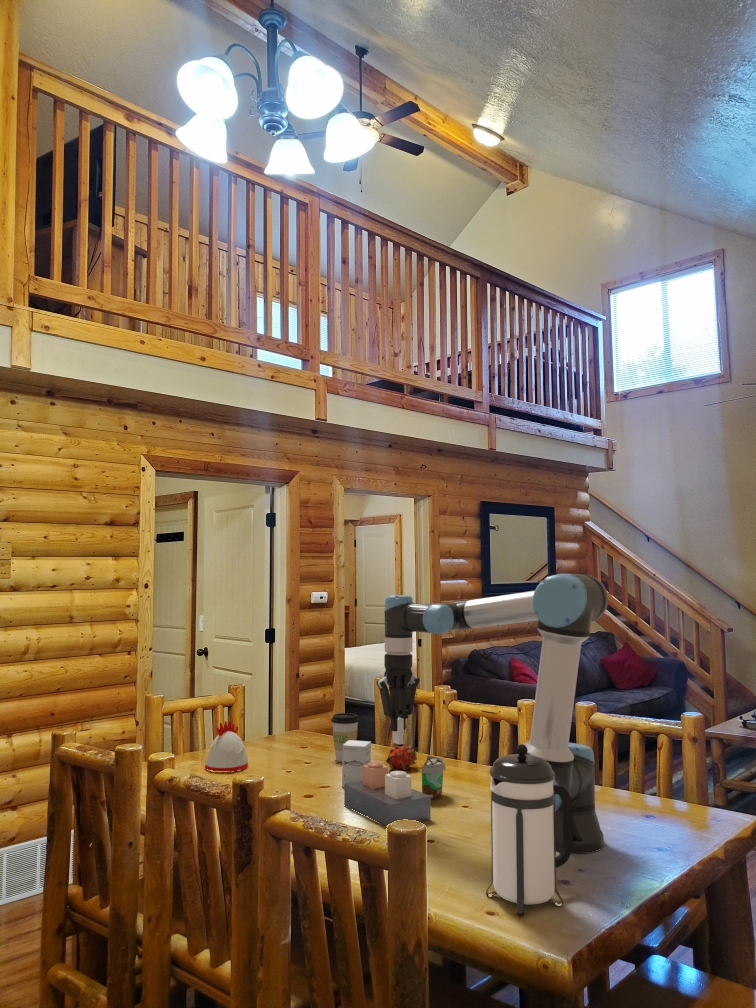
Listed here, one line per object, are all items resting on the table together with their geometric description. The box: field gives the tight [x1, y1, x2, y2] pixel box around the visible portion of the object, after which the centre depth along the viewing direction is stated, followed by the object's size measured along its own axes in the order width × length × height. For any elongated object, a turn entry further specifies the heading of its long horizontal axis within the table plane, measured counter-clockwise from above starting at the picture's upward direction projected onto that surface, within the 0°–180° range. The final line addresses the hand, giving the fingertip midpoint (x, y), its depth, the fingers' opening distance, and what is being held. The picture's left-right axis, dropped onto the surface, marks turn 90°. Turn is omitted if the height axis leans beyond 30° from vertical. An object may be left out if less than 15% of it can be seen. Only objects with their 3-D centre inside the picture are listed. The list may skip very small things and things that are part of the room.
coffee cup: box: [330, 712, 360, 763], centre depth 251 cm, size 10×10×15 cm
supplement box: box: [341, 740, 372, 788], centre depth 220 cm, size 7×7×13 cm
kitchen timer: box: [204, 720, 249, 771], centre depth 240 cm, size 14×14×15 cm
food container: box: [421, 755, 446, 802], centre depth 209 cm, size 12×6×10 cm, turn 168°
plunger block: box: [343, 781, 432, 828], centre depth 195 cm, size 22×13×6 cm, turn 34°
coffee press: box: [485, 743, 573, 917], centre depth 145 cm, size 17×16×30 cm
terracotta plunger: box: [362, 761, 389, 789], centre depth 200 cm, size 5×5×7 cm
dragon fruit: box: [385, 744, 417, 772], centre depth 238 cm, size 8×8×12 cm
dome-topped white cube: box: [385, 770, 412, 799], centre depth 191 cm, size 5×5×7 cm
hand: (398, 743), depth 192 cm, fingers closed
